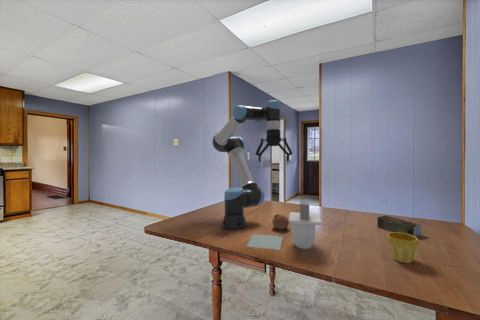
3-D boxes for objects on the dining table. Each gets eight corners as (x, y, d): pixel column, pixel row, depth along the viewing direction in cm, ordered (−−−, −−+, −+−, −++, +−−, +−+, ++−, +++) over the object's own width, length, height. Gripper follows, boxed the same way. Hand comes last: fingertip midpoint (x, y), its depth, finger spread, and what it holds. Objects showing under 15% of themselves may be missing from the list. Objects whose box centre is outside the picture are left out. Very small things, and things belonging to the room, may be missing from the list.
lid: (288, 223, 100) (288, 205, 100) (290, 214, 114) (290, 198, 113) (321, 225, 96) (321, 206, 96) (318, 216, 110) (318, 199, 110)
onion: (274, 234, 128) (266, 219, 129) (283, 226, 135) (275, 211, 135) (286, 233, 121) (277, 217, 122) (294, 224, 128) (286, 209, 128)
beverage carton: (413, 238, 113) (414, 225, 113) (376, 227, 130) (376, 216, 130) (421, 235, 117) (422, 223, 116) (384, 225, 134) (384, 214, 134)
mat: (246, 247, 105) (246, 246, 105) (253, 235, 121) (253, 234, 121) (280, 250, 101) (279, 249, 101) (282, 237, 116) (282, 236, 116)
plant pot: (381, 254, 96) (381, 232, 96) (403, 252, 97) (403, 231, 97) (400, 266, 86) (400, 241, 86) (424, 264, 87) (425, 240, 86)
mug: (304, 238, 115) (304, 213, 115) (324, 244, 107) (324, 218, 106) (286, 246, 106) (286, 219, 105) (306, 254, 97) (306, 225, 97)
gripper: (249, 129, 121) (250, 168, 122) (296, 127, 114) (296, 168, 115) (252, 130, 128) (253, 167, 129) (296, 129, 122) (297, 167, 122)
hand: (273, 167), depth 122 cm, fingers open, 13 cm apart
